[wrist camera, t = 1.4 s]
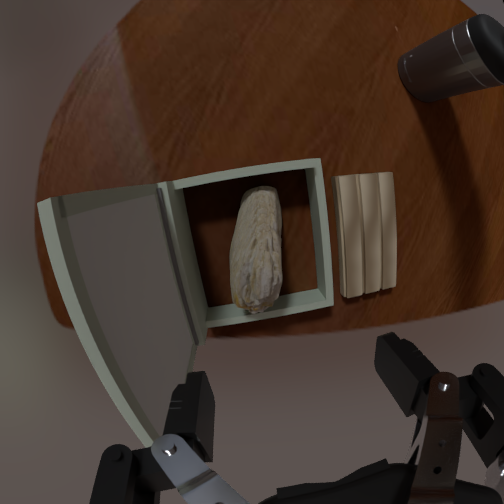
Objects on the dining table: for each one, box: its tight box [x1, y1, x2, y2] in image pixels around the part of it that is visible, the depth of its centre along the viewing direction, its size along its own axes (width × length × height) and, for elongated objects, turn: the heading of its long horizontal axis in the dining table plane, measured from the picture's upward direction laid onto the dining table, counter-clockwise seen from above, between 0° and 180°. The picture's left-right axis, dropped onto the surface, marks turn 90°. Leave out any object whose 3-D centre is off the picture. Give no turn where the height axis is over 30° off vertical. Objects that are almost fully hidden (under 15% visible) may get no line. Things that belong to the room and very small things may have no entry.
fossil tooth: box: [229, 186, 282, 314], centre depth 31 cm, size 12×6×15 cm
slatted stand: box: [331, 172, 397, 298], centre depth 36 cm, size 9×17×2 cm, turn 9°
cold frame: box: [37, 158, 334, 448], centre depth 24 cm, size 19×19×25 cm
